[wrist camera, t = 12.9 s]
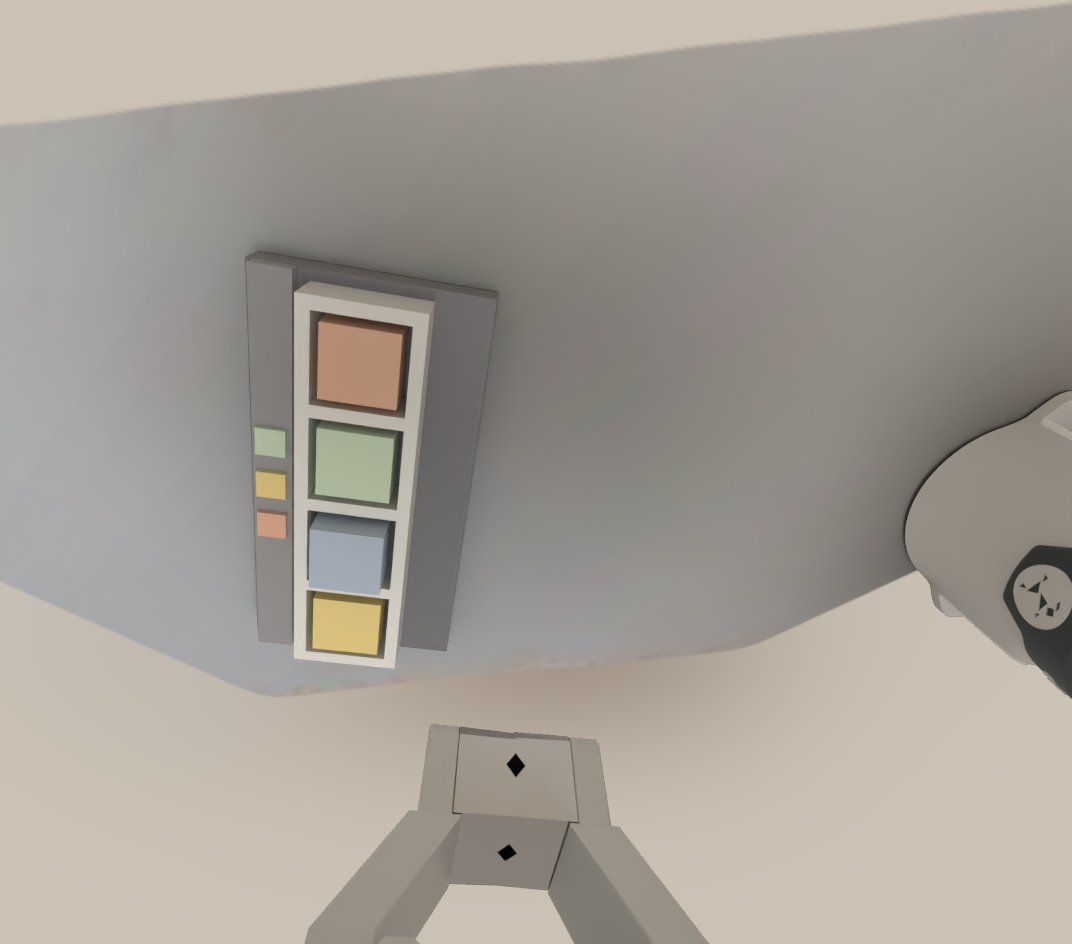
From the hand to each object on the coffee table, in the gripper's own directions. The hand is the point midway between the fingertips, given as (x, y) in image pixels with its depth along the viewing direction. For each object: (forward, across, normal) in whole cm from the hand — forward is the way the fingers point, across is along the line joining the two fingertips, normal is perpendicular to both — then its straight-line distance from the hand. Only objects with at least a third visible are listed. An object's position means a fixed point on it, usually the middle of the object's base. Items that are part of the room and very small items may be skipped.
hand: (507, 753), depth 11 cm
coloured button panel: (+31, +8, +12) cm, 34 cm away
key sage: (+28, +8, +9) cm, 31 cm away
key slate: (+27, +8, +15) cm, 32 cm away
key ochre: (+28, +8, +21) cm, 36 cm away
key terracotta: (+28, +8, +3) cm, 30 cm away
